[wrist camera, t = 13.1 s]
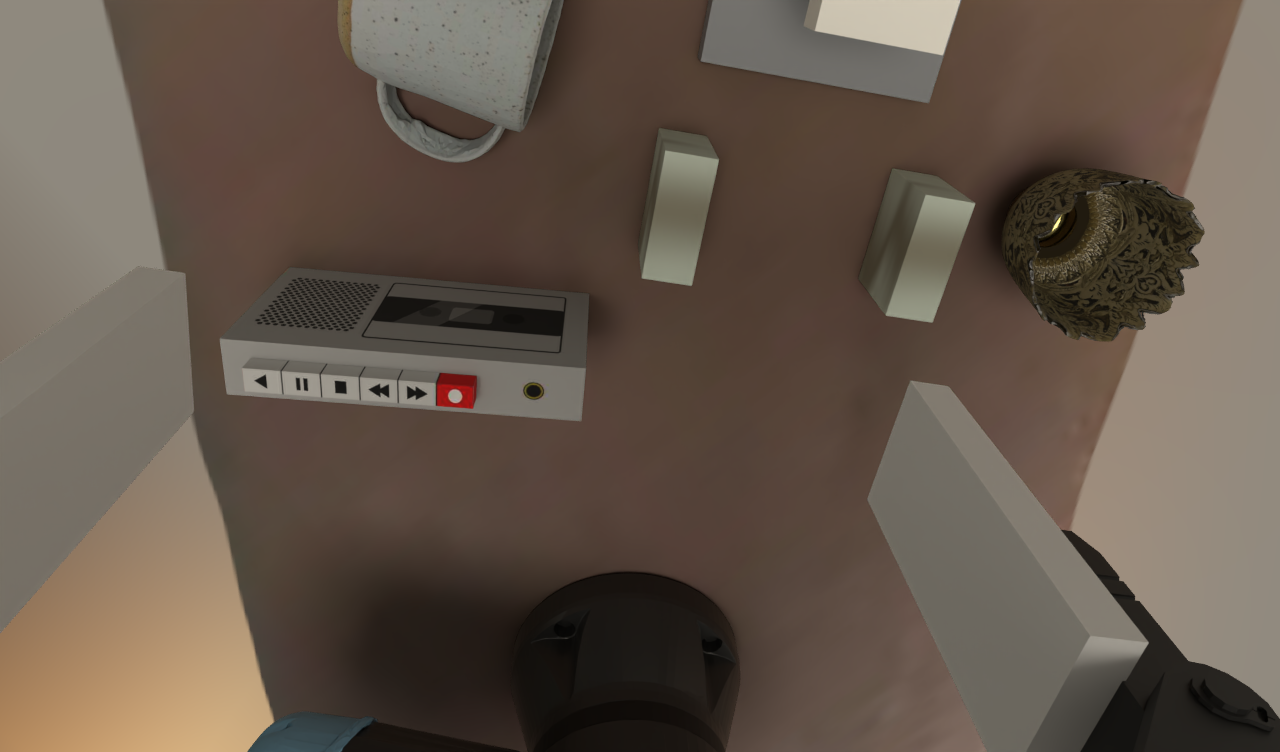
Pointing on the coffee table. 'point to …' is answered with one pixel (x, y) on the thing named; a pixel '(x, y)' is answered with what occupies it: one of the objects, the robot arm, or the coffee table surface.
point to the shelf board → (886, 21)
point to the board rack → (896, 255)
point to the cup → (1099, 249)
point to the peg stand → (811, 50)
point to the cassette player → (412, 345)
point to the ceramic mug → (452, 62)
